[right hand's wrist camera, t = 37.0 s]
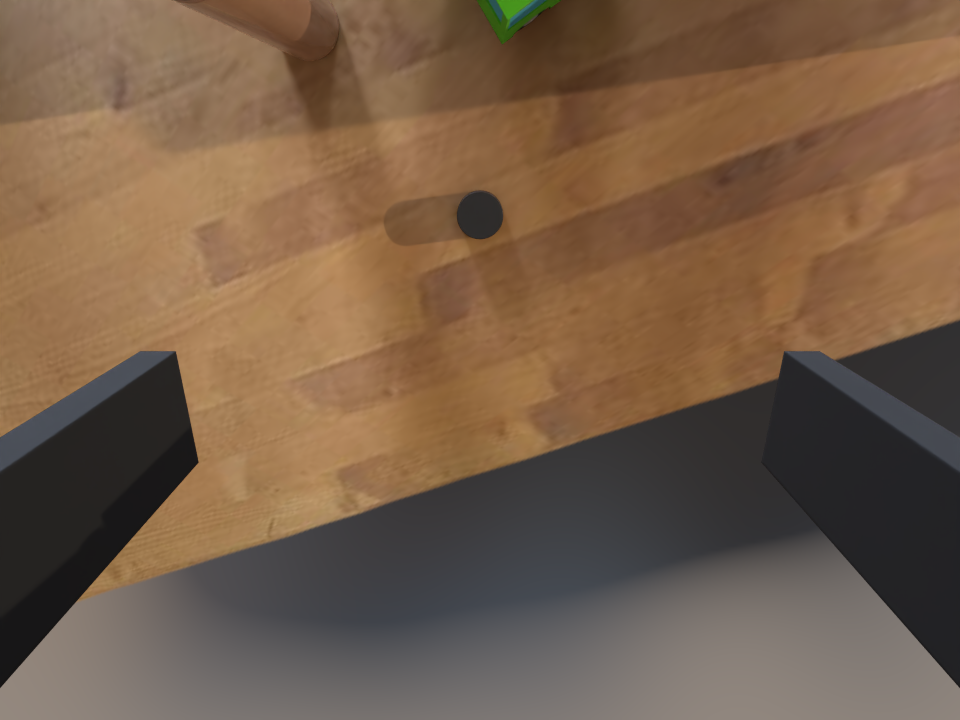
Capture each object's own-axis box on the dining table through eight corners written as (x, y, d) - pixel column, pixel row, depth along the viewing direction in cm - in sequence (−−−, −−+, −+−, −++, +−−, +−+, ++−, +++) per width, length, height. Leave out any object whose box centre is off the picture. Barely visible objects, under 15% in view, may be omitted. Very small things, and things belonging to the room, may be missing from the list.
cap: (509, 226, 47) (509, 228, 46) (468, 243, 48) (467, 246, 46) (492, 183, 46) (492, 184, 45) (450, 200, 46) (449, 202, 45)
